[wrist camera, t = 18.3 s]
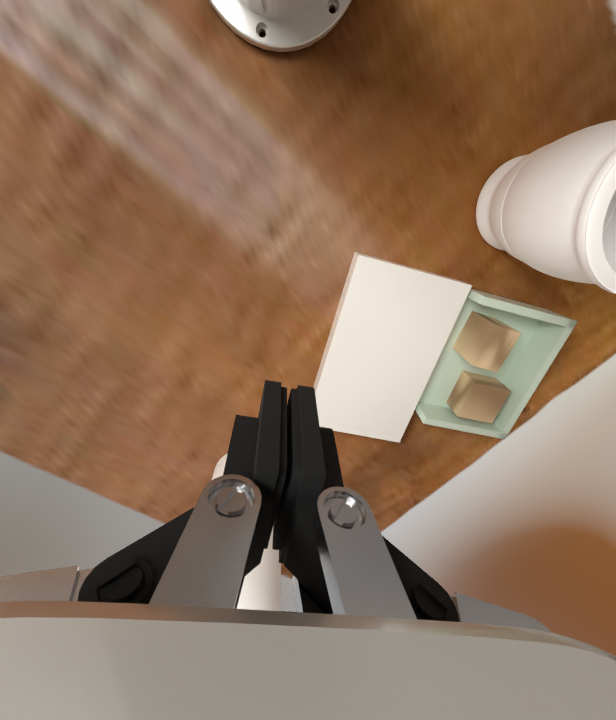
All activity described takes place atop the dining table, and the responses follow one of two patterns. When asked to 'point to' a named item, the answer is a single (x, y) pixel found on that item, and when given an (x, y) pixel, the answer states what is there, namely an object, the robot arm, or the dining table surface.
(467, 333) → the tan faceted block
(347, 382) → the board
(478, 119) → the dining table surface
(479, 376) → the tan block
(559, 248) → the jar
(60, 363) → the dining table surface
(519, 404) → the tray
